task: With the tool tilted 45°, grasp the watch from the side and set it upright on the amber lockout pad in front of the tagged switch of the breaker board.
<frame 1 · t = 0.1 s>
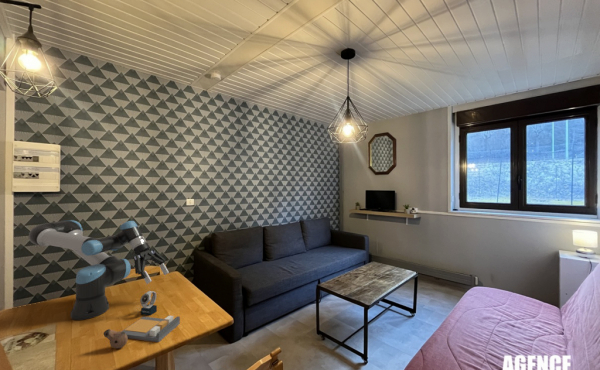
hand: (158, 278, 135), 15 cm above the table, tool tilted 35°, fingers open, 13 cm apart
oil lamp: (115, 348, 100), on the table
breaker board: (150, 330, 112), on the table
watch: (148, 313, 127), on the table
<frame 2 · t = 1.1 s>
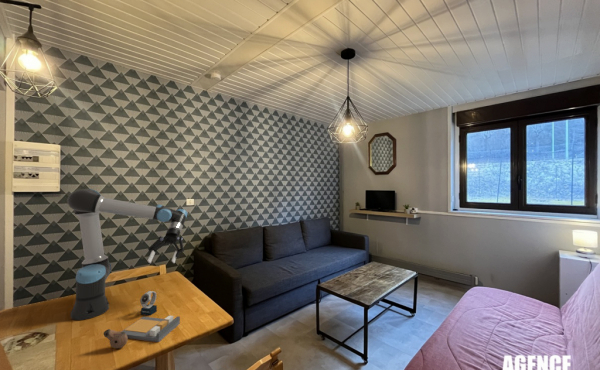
hand: (160, 262, 137), 23 cm above the table, tool tilted 45°, fingers open, 13 cm apart
nothing on the table moved.
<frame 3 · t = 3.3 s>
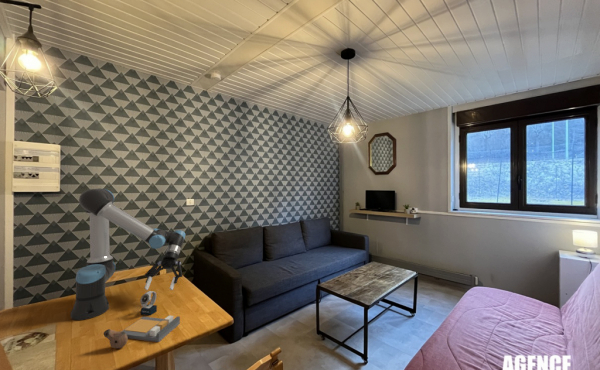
hand: (158, 289, 133), 10 cm above the table, tool tilted 45°, fingers open, 13 cm apart
nothing on the table moved.
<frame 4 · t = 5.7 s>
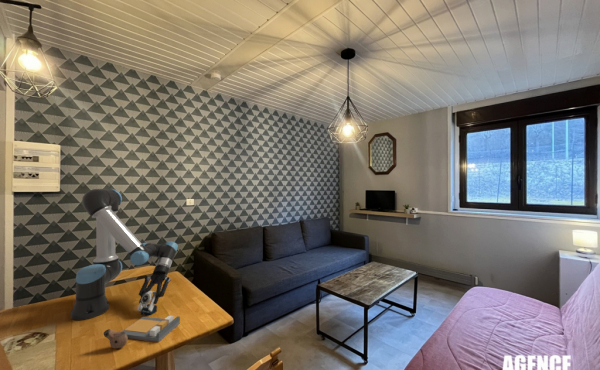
hand: (144, 310, 123), 3 cm above the table, tool tilted 45°, fingers closed on watch, 5 cm apart
watch: (148, 313, 127), on the table, touching gripper
everything else where it was.
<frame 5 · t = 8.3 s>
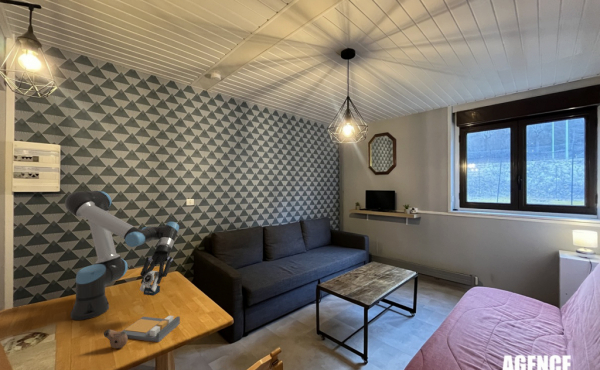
hand: (147, 290, 118), 16 cm above the table, tool tilted 45°, fingers closed on watch, 5 cm apart
watch: (151, 293, 122), point 13 cm above the table, touching gripper
everything else where it was.
when the fingers open (6 cm above the table, at t = 10.9 s): watch drops 1 cm, resting on breaker board.
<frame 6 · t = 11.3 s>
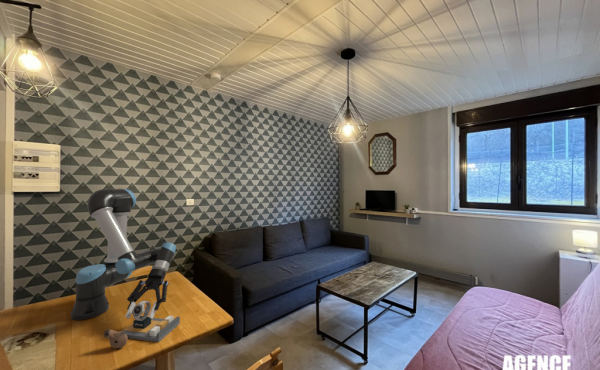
hand: (138, 317, 110), 7 cm above the table, tool tilted 45°, fingers open, 10 cm apart
watch: (142, 326, 113), point 2 cm above the table, touching breaker board
everything else where it was.
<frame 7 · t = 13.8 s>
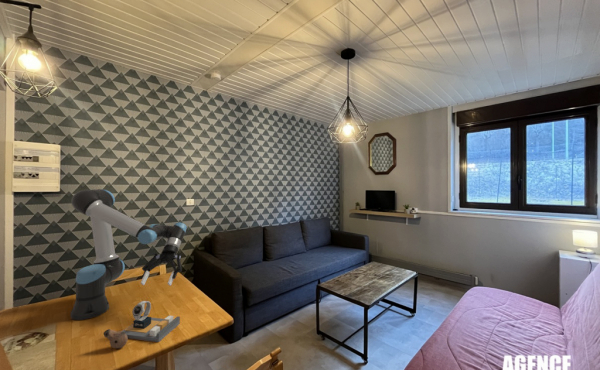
hand: (155, 284, 123), 17 cm above the table, tool tilted 45°, fingers open, 13 cm apart
nothing on the table moved.
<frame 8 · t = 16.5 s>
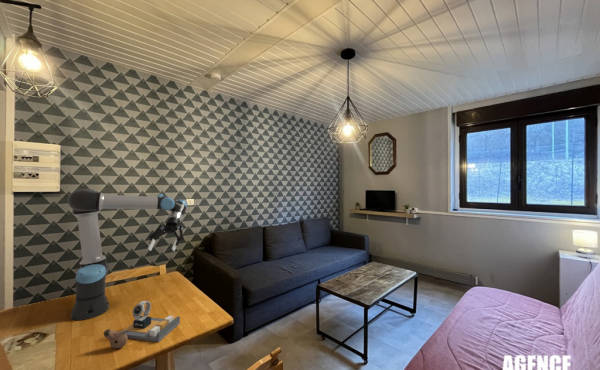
hand: (161, 250, 140), 30 cm above the table, tool tilted 45°, fingers open, 13 cm apart
nothing on the table moved.
at the end: watch inside the target area on the breaker board (0.3 cm from its centre), point 1.5 cm above the breaker board's base; watch tilted 0°; the gripper is holding nothing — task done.
